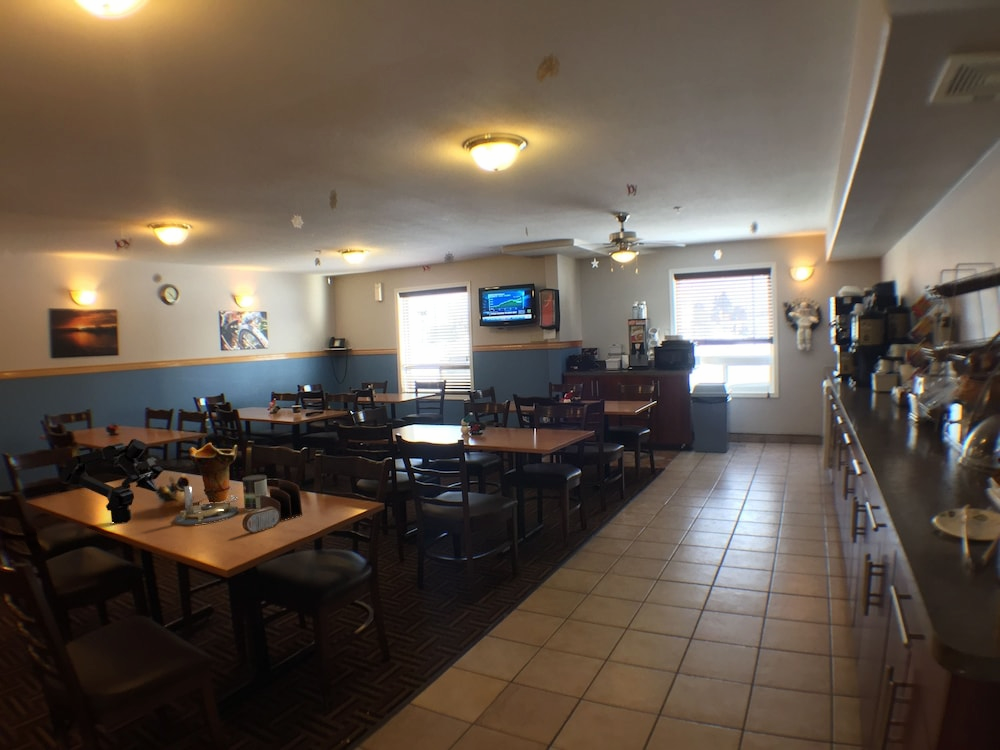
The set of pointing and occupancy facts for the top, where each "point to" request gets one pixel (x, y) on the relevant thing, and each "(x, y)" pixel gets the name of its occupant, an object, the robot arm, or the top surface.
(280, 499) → the letter holder
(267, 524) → the tin
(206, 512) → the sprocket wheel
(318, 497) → the top surface
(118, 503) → the robot arm
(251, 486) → the coffee can
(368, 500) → the top surface
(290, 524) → the top surface
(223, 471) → the decorative vase
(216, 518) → the base plate
